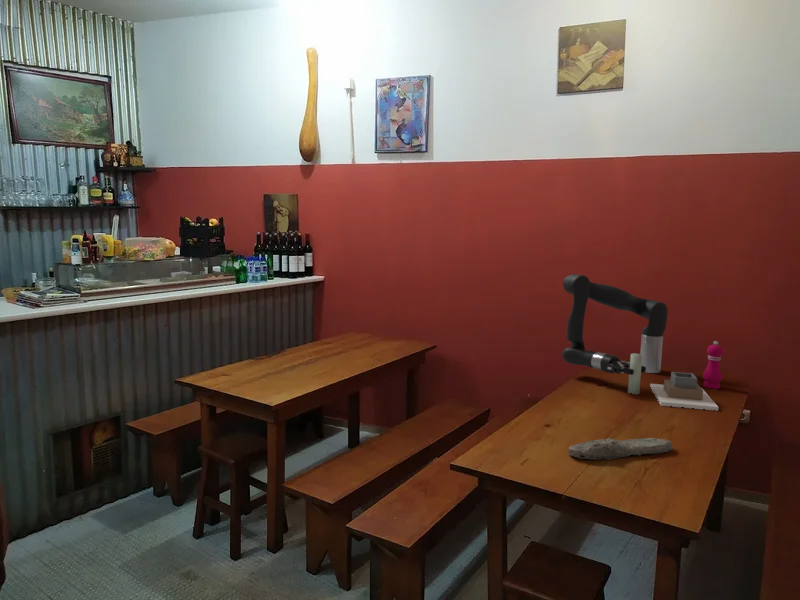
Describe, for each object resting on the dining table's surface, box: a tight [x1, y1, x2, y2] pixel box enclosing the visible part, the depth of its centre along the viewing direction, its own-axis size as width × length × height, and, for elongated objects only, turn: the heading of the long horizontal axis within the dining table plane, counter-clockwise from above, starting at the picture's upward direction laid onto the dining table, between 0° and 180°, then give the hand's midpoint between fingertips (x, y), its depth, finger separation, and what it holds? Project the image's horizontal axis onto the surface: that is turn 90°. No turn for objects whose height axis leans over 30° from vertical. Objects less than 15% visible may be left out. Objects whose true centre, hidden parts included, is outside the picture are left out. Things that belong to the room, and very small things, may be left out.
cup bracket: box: [649, 371, 719, 412], centre depth 239 cm, size 26×20×10 cm
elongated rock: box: [567, 437, 674, 461], centre depth 182 cm, size 35×5×10 cm
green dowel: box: [627, 352, 642, 395], centre depth 245 cm, size 4×4×16 cm
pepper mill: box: [702, 340, 724, 390], centre depth 255 cm, size 7×7×20 cm
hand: (639, 370), depth 243 cm, fingers open, 8 cm apart
